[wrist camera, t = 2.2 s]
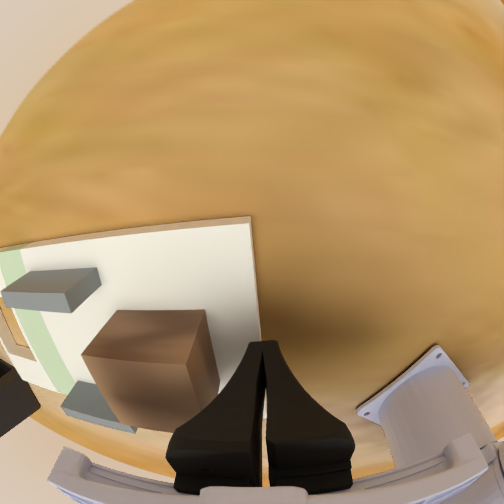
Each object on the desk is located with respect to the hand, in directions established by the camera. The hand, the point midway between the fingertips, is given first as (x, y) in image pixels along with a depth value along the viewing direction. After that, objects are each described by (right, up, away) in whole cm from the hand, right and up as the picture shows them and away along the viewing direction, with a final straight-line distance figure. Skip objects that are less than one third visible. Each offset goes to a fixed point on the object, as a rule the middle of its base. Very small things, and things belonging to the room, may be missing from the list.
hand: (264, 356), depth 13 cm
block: (-5, 0, +1) cm, 5 cm away
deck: (-12, 0, +3) cm, 12 cm away
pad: (-16, 0, +3) cm, 17 cm away
